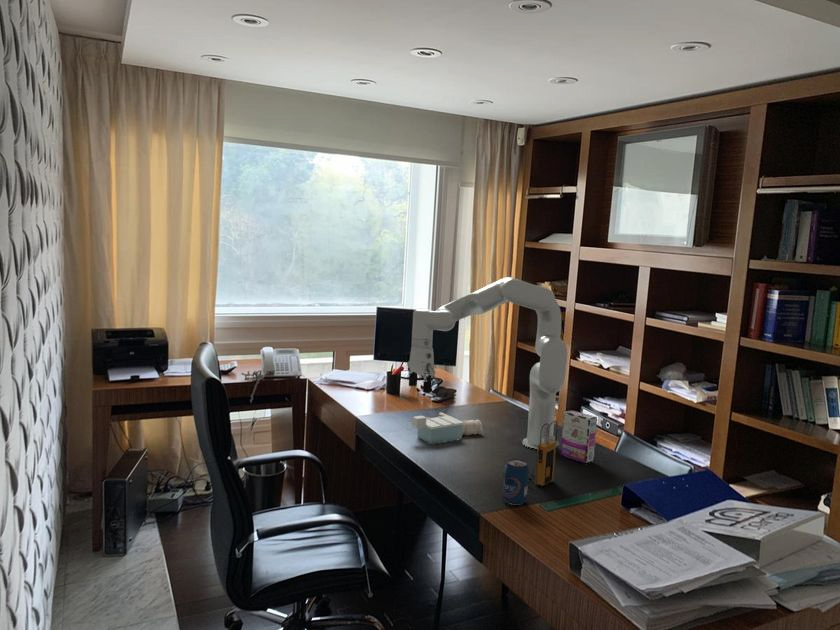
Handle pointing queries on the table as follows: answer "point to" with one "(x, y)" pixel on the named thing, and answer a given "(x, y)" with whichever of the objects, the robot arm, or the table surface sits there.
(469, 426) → the gavel
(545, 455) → the multimeter
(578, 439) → the candy bar box
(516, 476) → the soda can
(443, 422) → the lid
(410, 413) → the table surface
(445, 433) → the tub
